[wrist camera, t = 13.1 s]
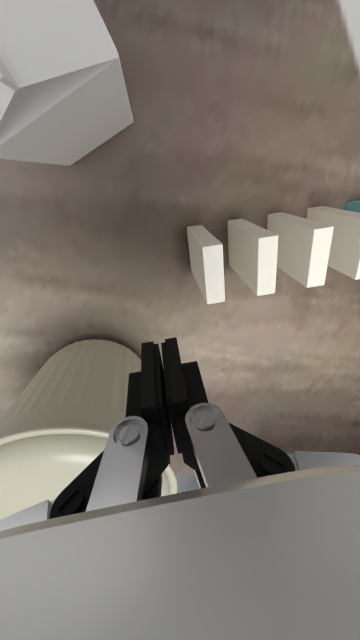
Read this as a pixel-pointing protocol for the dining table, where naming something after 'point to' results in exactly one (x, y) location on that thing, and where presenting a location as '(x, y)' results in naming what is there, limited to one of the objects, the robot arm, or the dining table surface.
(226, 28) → the dining table surface
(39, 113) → the milk carton
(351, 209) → the domino
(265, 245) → the domino
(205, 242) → the domino
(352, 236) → the domino
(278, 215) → the domino
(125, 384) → the canister
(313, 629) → the robot arm
